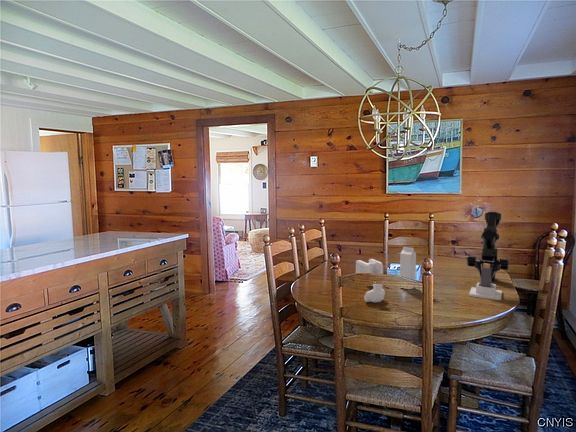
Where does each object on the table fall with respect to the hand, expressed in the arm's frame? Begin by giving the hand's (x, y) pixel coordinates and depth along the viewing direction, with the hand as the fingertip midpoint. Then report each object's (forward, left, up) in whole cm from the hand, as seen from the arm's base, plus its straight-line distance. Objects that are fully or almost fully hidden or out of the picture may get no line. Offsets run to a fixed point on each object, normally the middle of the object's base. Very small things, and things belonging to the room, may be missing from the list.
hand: (486, 277), depth 203 cm
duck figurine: (+50, -28, -9) cm, 58 cm away
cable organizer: (+24, -55, -10) cm, 60 cm away
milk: (+19, -33, -9) cm, 39 cm away
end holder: (-1, -1, -9) cm, 9 cm away
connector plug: (-1, -1, -7) cm, 7 cm away
